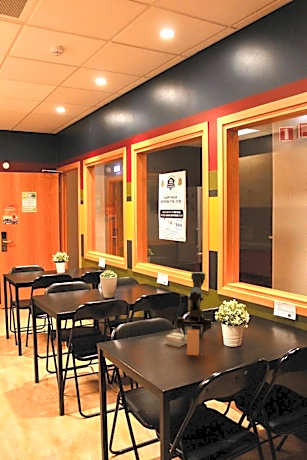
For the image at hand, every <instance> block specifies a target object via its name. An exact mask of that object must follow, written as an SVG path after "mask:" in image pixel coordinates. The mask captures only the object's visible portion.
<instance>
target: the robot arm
mask: <svg viewBox="0 0 307 460" xmlns="http://www.w3.org/2000/svg"><path fill="white" fill-rule="evenodd" d="M190 275H191V280H192V285H193V286H192V289H190V293H188V297H187V298H188V301H189V313H188V320H186V319H185V317H177V318H176V327H177V328H179V329H180V330H181V332H182V334H184V337H185V335H186V329H185V328H186V327H185V325H189V327H191V329H198V330H199V338H200V337H201V338H202V339H204V336H205V335H206V332H207V331H209V330H211V329H212V319H209V318H205V317H204V315H203V309H201V304H202V302H203V300H204V295H203V294H202V286H204V284H205V280H206V273H204V271H193V272H192V273H191V274H190Z"/></svg>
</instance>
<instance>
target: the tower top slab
mask: <svg viewBox="0 0 307 460" xmlns="http://www.w3.org/2000/svg"><path fill="white" fill-rule="evenodd" d="M186 340H187V334H185V337H184V334H183V333H179V332H172V333H169V334H168V335H166V336H165V342H166V341H171V342H176V343H182V342H184V341H186Z"/></svg>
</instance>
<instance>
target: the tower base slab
mask: <svg viewBox="0 0 307 460" xmlns="http://www.w3.org/2000/svg"><path fill="white" fill-rule="evenodd" d="M165 345H170V346H173V347H178V348H180V347H182V346H184V345H187V340H186V341H184V342H182V343H176V342H171V341H166V340H165Z"/></svg>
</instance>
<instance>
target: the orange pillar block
mask: <svg viewBox="0 0 307 460" xmlns="http://www.w3.org/2000/svg"><path fill="white" fill-rule="evenodd" d="M186 335H187V343H186V355H187V356H199V353H200V337H199V330H198V329H192V328H188V329H187V333H186Z"/></svg>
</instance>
